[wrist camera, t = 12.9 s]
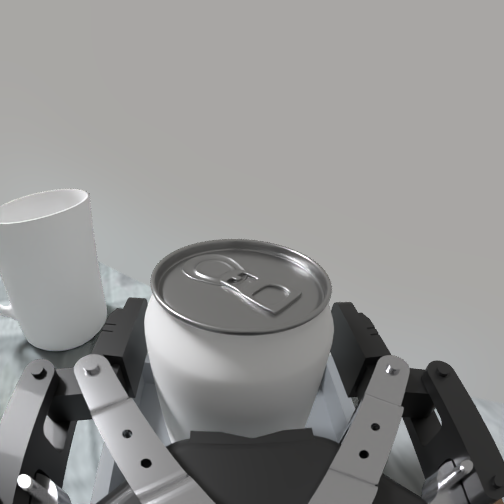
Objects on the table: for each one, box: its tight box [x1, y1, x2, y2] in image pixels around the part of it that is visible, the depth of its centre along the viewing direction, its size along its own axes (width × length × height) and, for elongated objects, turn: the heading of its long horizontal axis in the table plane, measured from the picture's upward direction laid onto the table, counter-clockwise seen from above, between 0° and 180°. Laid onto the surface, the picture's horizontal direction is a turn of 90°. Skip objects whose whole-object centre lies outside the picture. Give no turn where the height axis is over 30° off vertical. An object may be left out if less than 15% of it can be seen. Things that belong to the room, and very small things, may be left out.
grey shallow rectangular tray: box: [90, 354, 355, 504], centre depth 14 cm, size 14×12×3 cm
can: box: [144, 239, 334, 443], centre depth 12 cm, size 6×6×12 cm
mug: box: [0, 189, 107, 351], centre depth 21 cm, size 10×12×12 cm
